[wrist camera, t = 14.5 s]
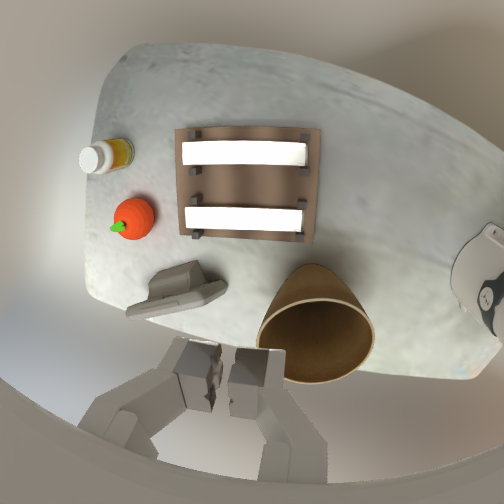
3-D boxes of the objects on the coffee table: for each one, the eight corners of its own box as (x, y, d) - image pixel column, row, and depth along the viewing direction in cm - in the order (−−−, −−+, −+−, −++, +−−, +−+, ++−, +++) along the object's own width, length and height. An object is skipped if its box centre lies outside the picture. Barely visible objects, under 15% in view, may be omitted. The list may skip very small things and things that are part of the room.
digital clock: (156, 304, 54) (132, 336, 44) (142, 264, 50) (113, 292, 41) (233, 302, 50) (219, 340, 41) (223, 257, 47) (204, 289, 37)
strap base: (317, 130, 37) (322, 129, 31) (311, 233, 43) (313, 250, 37) (185, 129, 39) (166, 129, 33) (188, 226, 46) (173, 241, 40)
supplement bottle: (119, 173, 44) (85, 185, 35) (106, 149, 42) (70, 156, 33) (140, 157, 42) (106, 164, 33) (126, 132, 40) (91, 135, 32)
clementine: (131, 237, 48) (110, 252, 42) (118, 202, 46) (95, 213, 39) (166, 226, 46) (147, 241, 40) (152, 188, 44) (130, 198, 37)
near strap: (307, 143, 34) (308, 143, 33) (307, 165, 35) (307, 166, 34) (184, 142, 35) (182, 142, 34) (184, 163, 36) (183, 164, 35)
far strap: (304, 209, 37) (305, 210, 37) (302, 229, 39) (303, 231, 38) (186, 206, 38) (184, 207, 38) (187, 226, 40) (186, 227, 39)
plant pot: (251, 288, 49) (232, 351, 34) (307, 225, 43) (312, 273, 28) (314, 331, 51) (316, 398, 36) (371, 278, 45) (397, 339, 30)
